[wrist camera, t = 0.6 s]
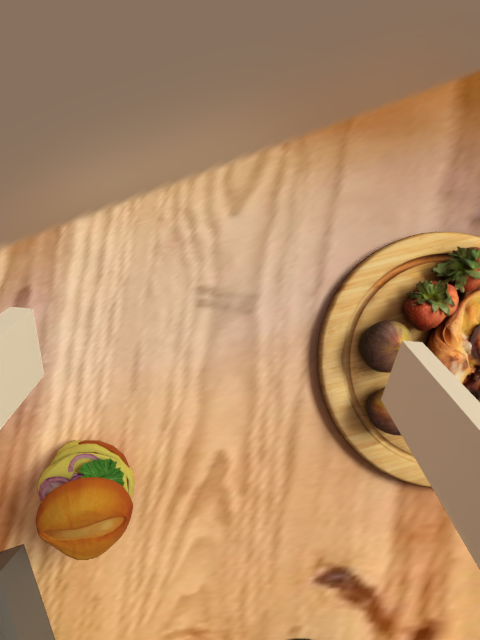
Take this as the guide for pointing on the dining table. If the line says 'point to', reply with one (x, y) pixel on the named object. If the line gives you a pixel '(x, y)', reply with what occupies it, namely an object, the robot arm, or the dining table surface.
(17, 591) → the tray
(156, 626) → the dining table surface
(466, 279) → the wooden plate with food
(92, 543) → the cheeseburger
